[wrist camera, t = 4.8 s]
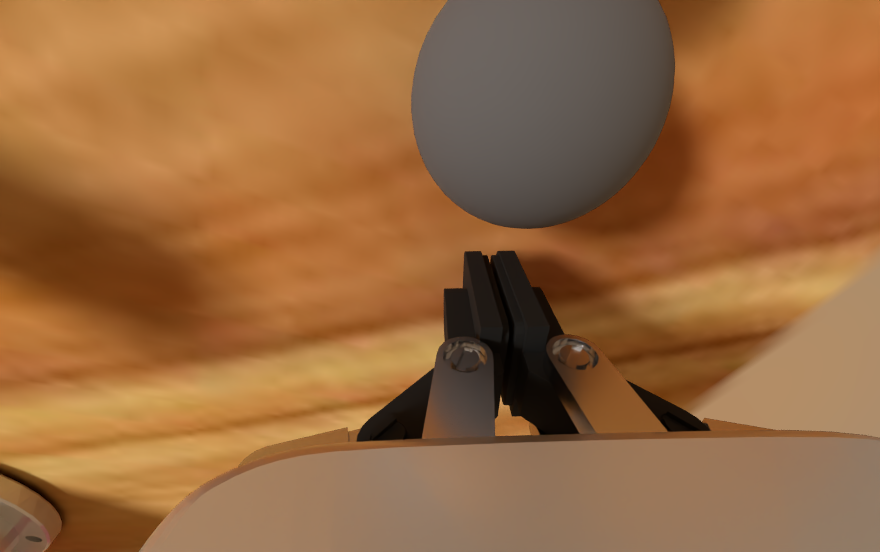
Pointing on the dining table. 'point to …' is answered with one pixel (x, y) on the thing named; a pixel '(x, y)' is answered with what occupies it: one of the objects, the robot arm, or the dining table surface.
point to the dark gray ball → (540, 103)
